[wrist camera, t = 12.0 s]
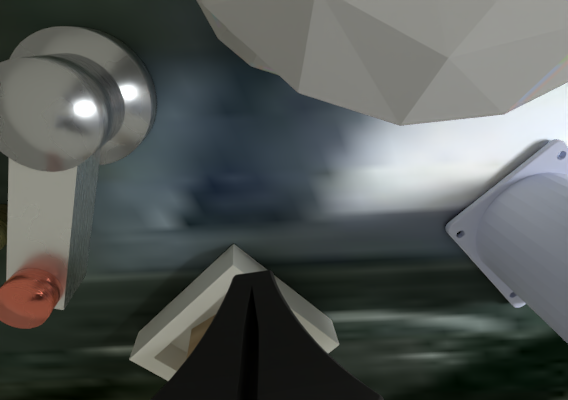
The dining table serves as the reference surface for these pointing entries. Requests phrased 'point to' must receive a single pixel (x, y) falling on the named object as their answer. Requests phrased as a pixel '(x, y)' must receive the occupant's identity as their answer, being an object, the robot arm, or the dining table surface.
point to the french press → (403, 52)
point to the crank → (51, 176)
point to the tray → (204, 304)
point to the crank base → (120, 66)
